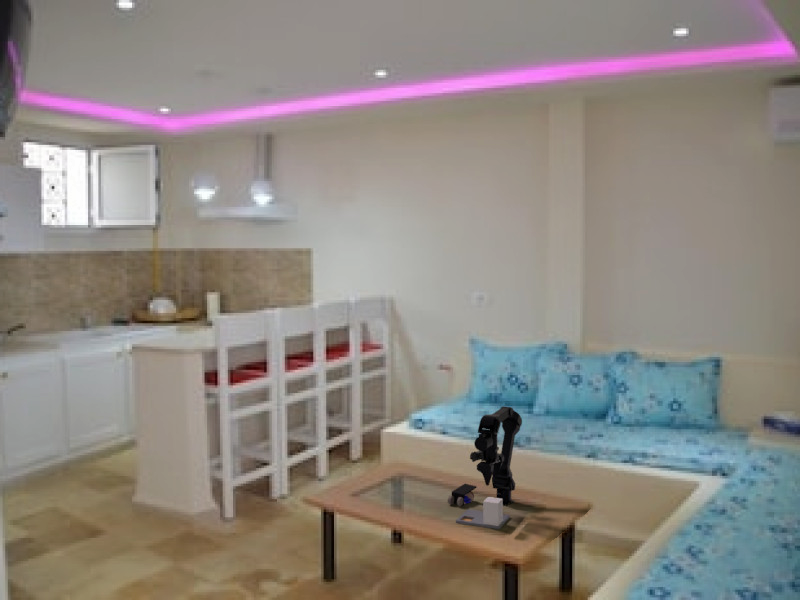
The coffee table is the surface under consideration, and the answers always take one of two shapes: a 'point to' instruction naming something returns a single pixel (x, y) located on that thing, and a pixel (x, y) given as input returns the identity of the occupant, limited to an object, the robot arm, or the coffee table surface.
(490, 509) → the pale grey block
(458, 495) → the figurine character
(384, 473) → the coffee table surface
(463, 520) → the socket plate
